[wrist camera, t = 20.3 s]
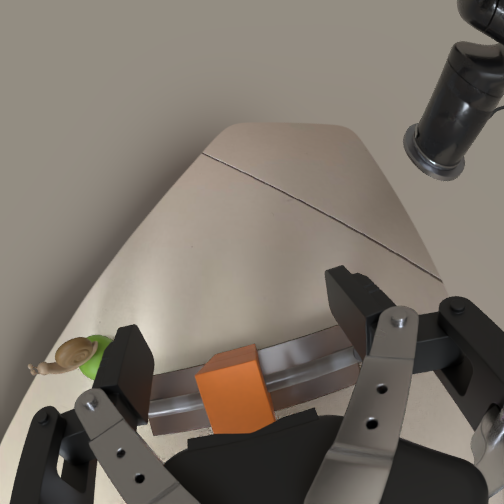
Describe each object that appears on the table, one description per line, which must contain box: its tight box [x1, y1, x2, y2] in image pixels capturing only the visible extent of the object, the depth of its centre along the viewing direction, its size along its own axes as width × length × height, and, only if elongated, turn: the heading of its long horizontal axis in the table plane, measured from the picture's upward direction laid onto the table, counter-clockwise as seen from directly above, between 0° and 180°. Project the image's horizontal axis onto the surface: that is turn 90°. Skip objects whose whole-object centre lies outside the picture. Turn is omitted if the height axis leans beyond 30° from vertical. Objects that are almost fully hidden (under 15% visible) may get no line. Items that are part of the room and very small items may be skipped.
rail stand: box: [148, 325, 363, 436], centre depth 27 cm, size 24×7×11 cm, turn 106°
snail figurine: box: [28, 335, 112, 380], centre depth 28 cm, size 5×6×12 cm
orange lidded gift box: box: [195, 344, 276, 434], centre depth 23 cm, size 4×6×11 cm
